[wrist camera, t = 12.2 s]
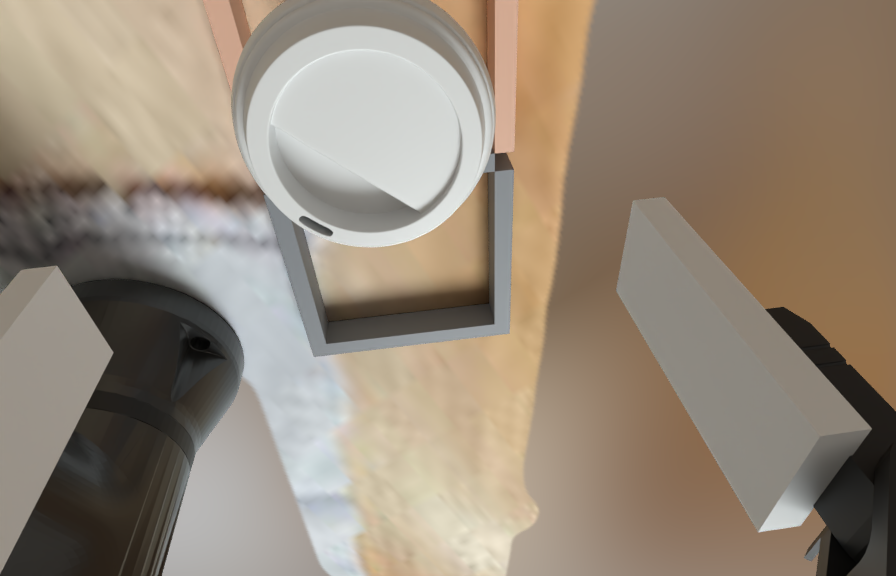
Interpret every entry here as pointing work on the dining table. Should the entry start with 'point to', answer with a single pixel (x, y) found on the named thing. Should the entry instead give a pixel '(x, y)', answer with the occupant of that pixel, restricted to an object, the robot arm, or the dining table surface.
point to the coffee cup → (363, 116)
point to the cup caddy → (495, 315)
